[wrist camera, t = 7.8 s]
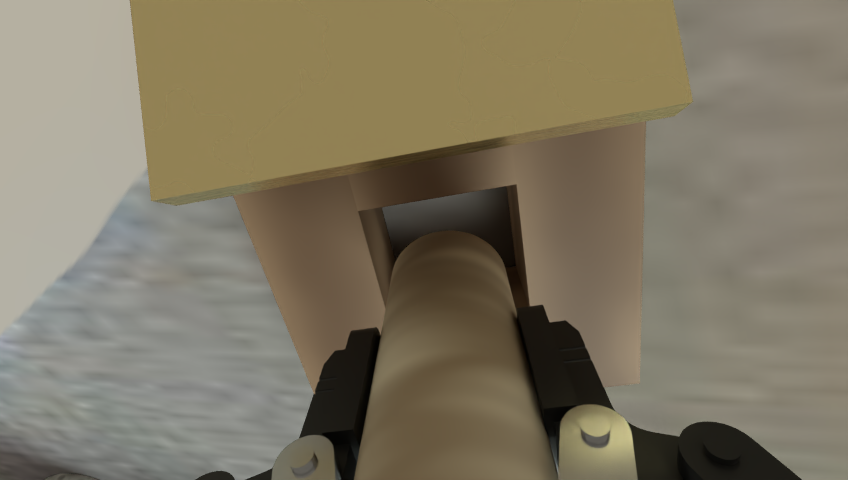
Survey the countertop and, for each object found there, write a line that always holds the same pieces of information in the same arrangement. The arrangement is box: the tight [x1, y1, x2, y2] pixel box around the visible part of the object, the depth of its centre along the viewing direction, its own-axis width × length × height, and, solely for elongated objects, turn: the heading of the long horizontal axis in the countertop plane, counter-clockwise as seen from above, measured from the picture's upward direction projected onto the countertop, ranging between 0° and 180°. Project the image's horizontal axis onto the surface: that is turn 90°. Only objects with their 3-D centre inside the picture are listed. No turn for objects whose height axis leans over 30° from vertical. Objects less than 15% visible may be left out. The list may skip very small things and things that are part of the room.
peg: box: [354, 231, 558, 480], centre depth 10 cm, size 4×4×12 cm
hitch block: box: [233, 121, 646, 394], centre depth 17 cm, size 14×22×4 cm, turn 11°
